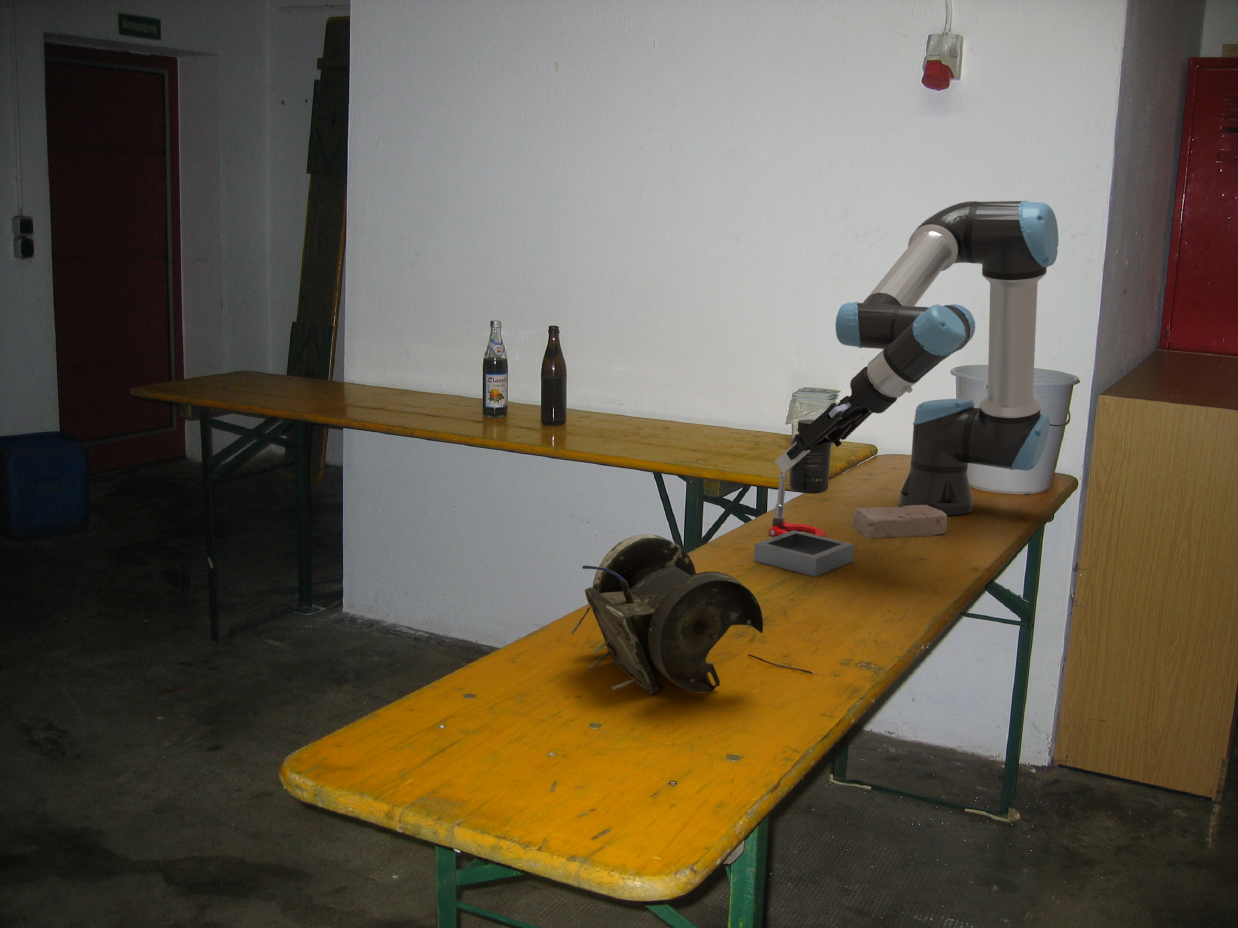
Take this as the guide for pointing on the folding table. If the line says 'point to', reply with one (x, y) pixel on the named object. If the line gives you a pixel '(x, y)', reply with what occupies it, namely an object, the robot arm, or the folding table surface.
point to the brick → (899, 521)
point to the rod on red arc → (778, 521)
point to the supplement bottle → (811, 466)
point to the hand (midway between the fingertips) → (792, 463)
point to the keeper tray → (803, 553)
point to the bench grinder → (664, 612)
